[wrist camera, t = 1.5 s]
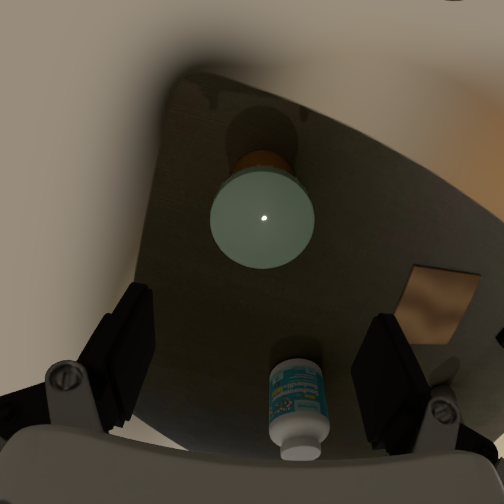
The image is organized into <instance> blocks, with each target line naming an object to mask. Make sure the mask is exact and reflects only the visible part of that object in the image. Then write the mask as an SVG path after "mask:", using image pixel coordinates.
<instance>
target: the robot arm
mask: <svg viewBox="0 0 504 504" xmlns="http://www.w3.org/2000/svg"><path fill="white" fill-rule="evenodd" d="M155 345H156V342H155V329H154V312H153V293H152V289H148V286H147V284H141V283H136V282H132V283H131V284H130V285H129V287H128V288H127V290H126V292H125V293H124V295H123V296H122V298H121V299H120V301H119V303H118V304H117V306H116V308H115V309H114V311H113V313H112V314H110V313H106V314H105V315H104V316H103V318H102V320H101V321H100V323H99V324H98V326H97V328H96V329H95V331H94V333H93V334H92V336H91V337H90V339H89V341H88V343H87V344H86V346H85V348H84V349H83V351H82V353H81V354H80V356H79V358H78V360H77V361H71V360H63V361H60V362H57V363H55V364H53V365H52V366H51V367H50V368H49V369H48V371H47V372H46V375H45V382H43V383H40V384H37V385H34V386H31V387H28V388H25V389H22V390H19V391H16V392H12V393H10V394H6V395H3V396H0V504H504V459H503V458H502V457H501V458H500V459H498V451H497V448H496V446H495V445H494V444H493V442H491V441H490V440H489V439H487V438H485V437H484V436H482V435H480V434H478V433H477V432H475V431H473V430H472V429H470V428H468V427H467V426H465V425H463V424H462V423H460V411H459V409H458V407H457V406H456V404H455V403H454V402H453V401H451V400H450V399H448V398H445V397H442V396H437V397H434V398H432V396H431V390H430V388H429V385H428V383H427V381H426V379H425V376H424V374H423V372H422V370H421V368H420V366H419V363H418V361H417V359H416V357H415V355H414V353H413V351H412V349H411V347H410V345H409V343H408V341H407V339H406V337H405V335H404V333H403V331H402V329H401V327H400V325H399V323H398V321H397V319H396V317H395V315H394V314H385V313H380V314H378V316H377V317H374V318H373V320H372V322H371V324H370V327H369V329H368V331H367V334H366V336H365V338H364V340H363V343H362V345H361V347H360V349H359V351H358V354H357V356H356V358H355V360H354V362H353V364H352V367H351V375H352V379H353V383H354V387H355V391H356V395H357V399H358V403H359V407H360V411H361V415H362V419H363V424H364V428H365V432H366V437H367V440H368V442H371V444H372V448H373V450H377V449H386V452H387V454H386V456H385V457H375V458H363V459H349V460H321V461H293V460H267V459H252V458H240V457H230V456H221V455H213V454H205V453H199V452H192V451H186V450H180V449H174V448H169V447H164V446H159V445H154V444H149V443H144V442H140V441H136V440H132V439H127V438H123V437H119V436H115V435H112V434H109V430H112V429H113V427H114V426H117V427H121V428H123V425H124V422H125V420H126V421H129V420H130V419H131V416H132V413H133V410H134V407H135V404H136V402H137V399H138V396H139V393H140V390H141V387H142V385H143V382H144V379H145V376H146V373H147V371H148V368H149V365H150V362H151V360H152V357H153V354H154V351H155Z"/></svg>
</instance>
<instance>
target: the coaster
mask: <svg viewBox="0 0 504 504" xmlns="http://www.w3.org/2000/svg"><path fill="white" fill-rule="evenodd" d="M481 277H482V276H481V275H476V274H470V273H463V272H457V271H450V270H444V269H437V268H430V267H423V266H417V265H413V268H412V270H411V273H410V275H409V278H408V280H407V283H406V285H405V288H404V290H403V293H402V295H401V298H400V300H399V302H398V305H397V307H396V309H395V312H394V315H395V317H396V319H397V321H398V323H399V325H400V327H401V329H402V331H403V333H404V335H405V337H406V339H407V341H408V343H409V344H448V342H449V340H450V338H451V337H452V335H453V333H454V331H455V329H456V328H457V326H458V324H459V322H460V320H461V318H462V316H463V314H464V312H465V310H466V308H467V306H468V304H469V302H470V300H471V298H472V296H473V294H474V292H475V290H476V288H477V286H478V283H479V281H480V279H481Z"/></svg>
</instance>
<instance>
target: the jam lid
mask: <svg viewBox="0 0 504 504" xmlns="http://www.w3.org/2000/svg"><path fill="white" fill-rule="evenodd" d="M214 199H215V200H214V203H213V205H212V208H211V210H210V212H211V213H210V226H211V231H212V234H213V237H214V239H215V241H216V243H217V245H218V246H219V248H220V249H221V250H222V251H223V252H224V253H225V254H226V255H227V256H228V257H229V258H231V259H232V260H234V261H235V262H237V263H239V264H241V265H244V266H247V267H252V268H259V269H266V268H273V267H278V266H281V265H283V264H286V263H288V262H290V261H291V260H293V259H294V258H296V257H297V256H298V255H299V254H300V253H301V252H302V251H303V250H304V249H305V247H306V246H307V244H308V243H309V241H310V239H311V236H312V233H313V229H314V220H315V219H314V218H315V216H314V211H313V206H312V205H313V203H312V201H311V199H310V198H309V197H308V195H307V191H306V189H305V187H303V186H302V185H301V183H300V182H299V181H298V180H297V178H296V177H293V176H292V175H291V174H289V173H287V172H286V170H281V169H279V168H275V167H273V166H259V165H258V166H254V167H249V168H246V167H245V168H244V169H243V170H241V171H239V172H237V173H235V174H234V173H233V174H232V176H231V177H230V178H229V179H228V180H227V181H226V182H223V184H222V186H221V188H220V190H219V192H218V193H216V195H215V197H214Z"/></svg>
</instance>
